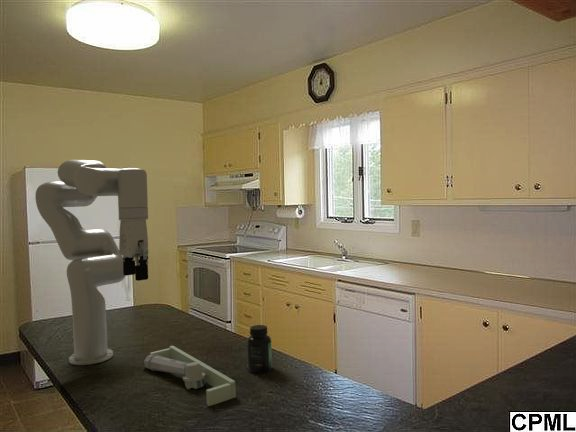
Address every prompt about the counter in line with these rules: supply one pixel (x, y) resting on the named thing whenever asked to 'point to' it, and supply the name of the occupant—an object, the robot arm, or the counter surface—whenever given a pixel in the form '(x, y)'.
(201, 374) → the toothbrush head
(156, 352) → the bracket
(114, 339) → the counter surface
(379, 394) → the counter surface
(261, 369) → the supplement bottle
